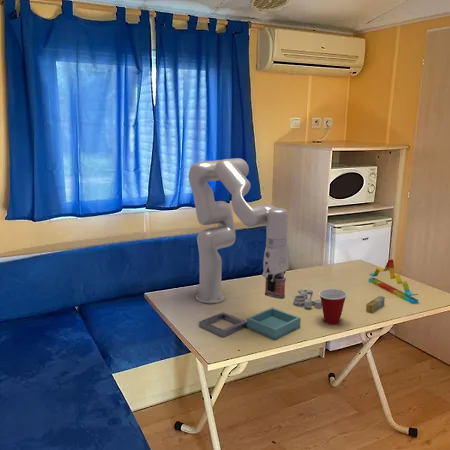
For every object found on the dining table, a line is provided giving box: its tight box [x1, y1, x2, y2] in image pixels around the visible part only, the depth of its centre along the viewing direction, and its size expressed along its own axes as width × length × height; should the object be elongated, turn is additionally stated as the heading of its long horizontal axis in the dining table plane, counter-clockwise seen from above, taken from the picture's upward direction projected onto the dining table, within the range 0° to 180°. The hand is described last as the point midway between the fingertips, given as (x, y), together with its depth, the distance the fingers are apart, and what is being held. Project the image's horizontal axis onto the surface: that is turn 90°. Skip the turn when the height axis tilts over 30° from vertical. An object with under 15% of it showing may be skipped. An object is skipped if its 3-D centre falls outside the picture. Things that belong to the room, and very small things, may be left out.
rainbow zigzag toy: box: [368, 259, 419, 305], centre depth 219 cm, size 30×3×15 cm, turn 20°
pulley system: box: [292, 288, 322, 310], centre depth 207 cm, size 27×5×15 cm
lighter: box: [264, 273, 286, 300], centre depth 178 cm, size 8×3×10 cm, turn 57°
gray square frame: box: [198, 311, 247, 338], centre depth 182 cm, size 13×13×2 cm
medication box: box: [365, 295, 386, 314], centre depth 201 cm, size 12×3×4 cm, turn 138°
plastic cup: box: [318, 288, 348, 325], centre depth 187 cm, size 11×11×12 cm
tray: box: [246, 307, 301, 341], centre depth 182 cm, size 14×15×4 cm
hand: (274, 288), depth 178 cm, fingers closed on lighter, 3 cm apart
